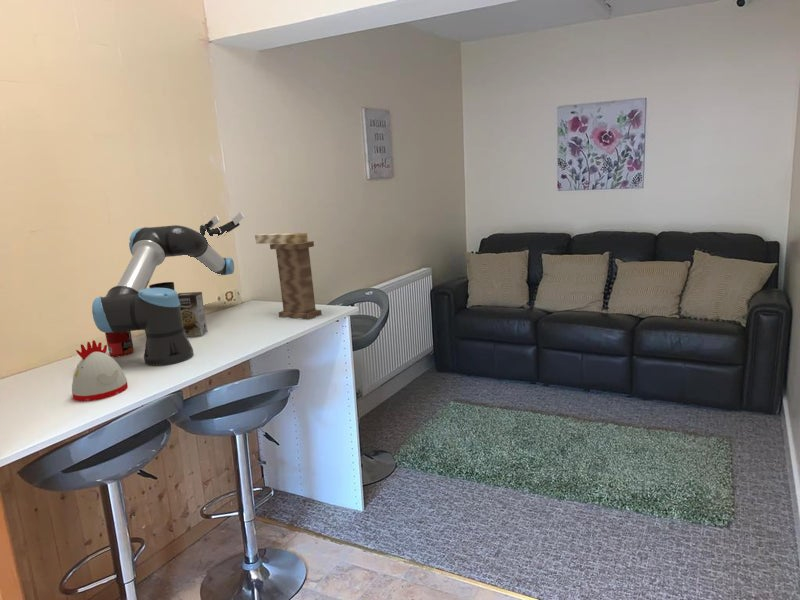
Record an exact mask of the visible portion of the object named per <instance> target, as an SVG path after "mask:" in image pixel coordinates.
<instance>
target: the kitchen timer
mask: <svg viewBox="0 0 800 600" xmlns="http://www.w3.org/2000/svg"><path fill="white" fill-rule="evenodd" d="M91 343H92V345H91ZM107 349H108V345H107V344H104V346H103V349H102V342H98V344H97V342H96V340H93V339H92V342H90V341H87V342H86V347H85V345H84V344H82V343H81V344H80V350H81V351H80V350H78V349H75V351H76V353H77V354H78V356H80V360H79V362H78V364H77V365H76V367H75V370H74V373H73V377H72V384H71V393H72V394H71V395H72V399H74V401H77V402H94V401H99V400H103V399H104V400H105V399H108V398H111V397H114V396H117V395H119V394H122V393H123V392H125V391H126V390H127V389H128V380H127V377H126V375H125V373H124V371H123V369H122V368H121V365H119V363H118V362H117V360H115V359H114V357H112V356H110V354H107V353H106V352H107Z"/></svg>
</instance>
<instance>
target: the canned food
mask: <svg viewBox="0 0 800 600" xmlns="http://www.w3.org/2000/svg"><path fill="white" fill-rule="evenodd" d="M104 334H105V340H106V345H107V349H108V353H109V354H108V355H109V356H110V357H112V356H113V357H112V358H117V357H118V356H120V357H125V355H126V356H129V355H131V354H133V353H134V352H135V351H134V349H135V348H134V344H133V338H132V331H125V332H115V333H112V332H109V333H105V332H104ZM128 354H129V355H128ZM118 358H119V357H118Z"/></svg>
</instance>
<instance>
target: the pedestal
mask: <svg viewBox="0 0 800 600" xmlns="http://www.w3.org/2000/svg"><path fill="white" fill-rule="evenodd" d="M314 242H315V241H312V240H311V241H310V240H308V242H304V243H299V244H286V243H276V244H269V248H270V250H275V254H276V260H277V269H278V277H279V287H280V294H281V301H282V308H283V310H281V311H279V312H278V317H279V318H285V317H290V318H289V319H297V318H302V319H301V320H308V319H309V320H311V319H314V318H316V316H317V317H319V316H322V309H316V308H317V307H316V299H315V292H314V283H313V274H312V273H313V272H312V267H311V266H312V265H311V256H310V248H314V247H315V243H314ZM313 317H314V318H313Z"/></svg>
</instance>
